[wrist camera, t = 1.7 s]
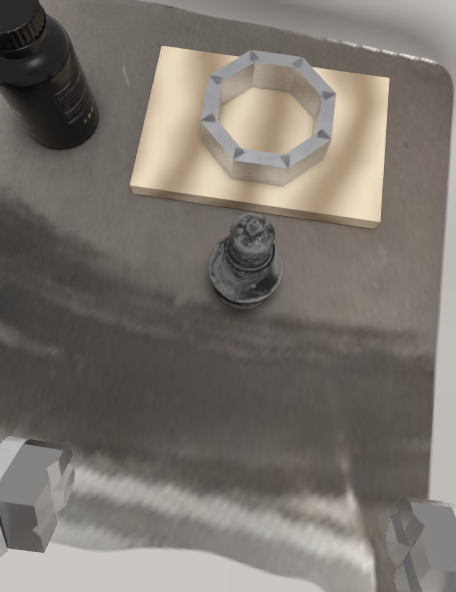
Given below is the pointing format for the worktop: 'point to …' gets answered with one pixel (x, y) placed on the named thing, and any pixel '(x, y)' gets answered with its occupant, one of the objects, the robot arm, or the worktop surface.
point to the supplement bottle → (43, 76)
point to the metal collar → (272, 76)
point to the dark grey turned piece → (246, 263)
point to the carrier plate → (263, 144)
